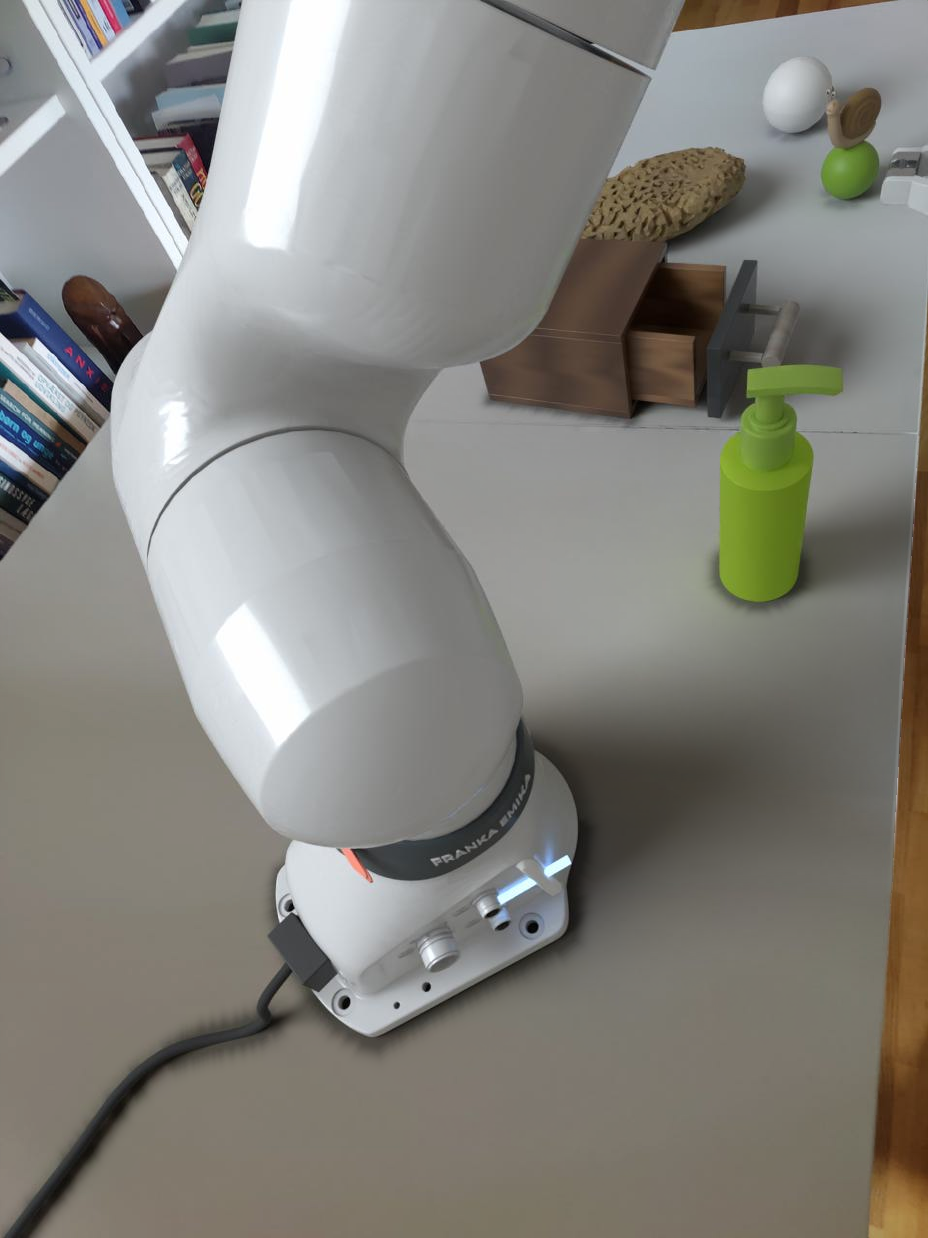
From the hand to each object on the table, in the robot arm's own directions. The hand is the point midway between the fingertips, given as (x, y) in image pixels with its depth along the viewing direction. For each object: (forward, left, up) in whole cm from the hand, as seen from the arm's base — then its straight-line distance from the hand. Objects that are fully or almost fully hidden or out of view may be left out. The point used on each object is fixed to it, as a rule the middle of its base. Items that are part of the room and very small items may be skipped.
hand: (886, 175), depth 58 cm
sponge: (+6, +33, -20) cm, 39 cm away
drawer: (-7, +12, -19) cm, 24 cm away
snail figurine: (+21, +20, -20) cm, 35 cm away
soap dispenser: (-19, -8, -20) cm, 29 cm away
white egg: (+29, +34, -20) cm, 49 cm away
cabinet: (-13, +22, -20) cm, 32 cm away
